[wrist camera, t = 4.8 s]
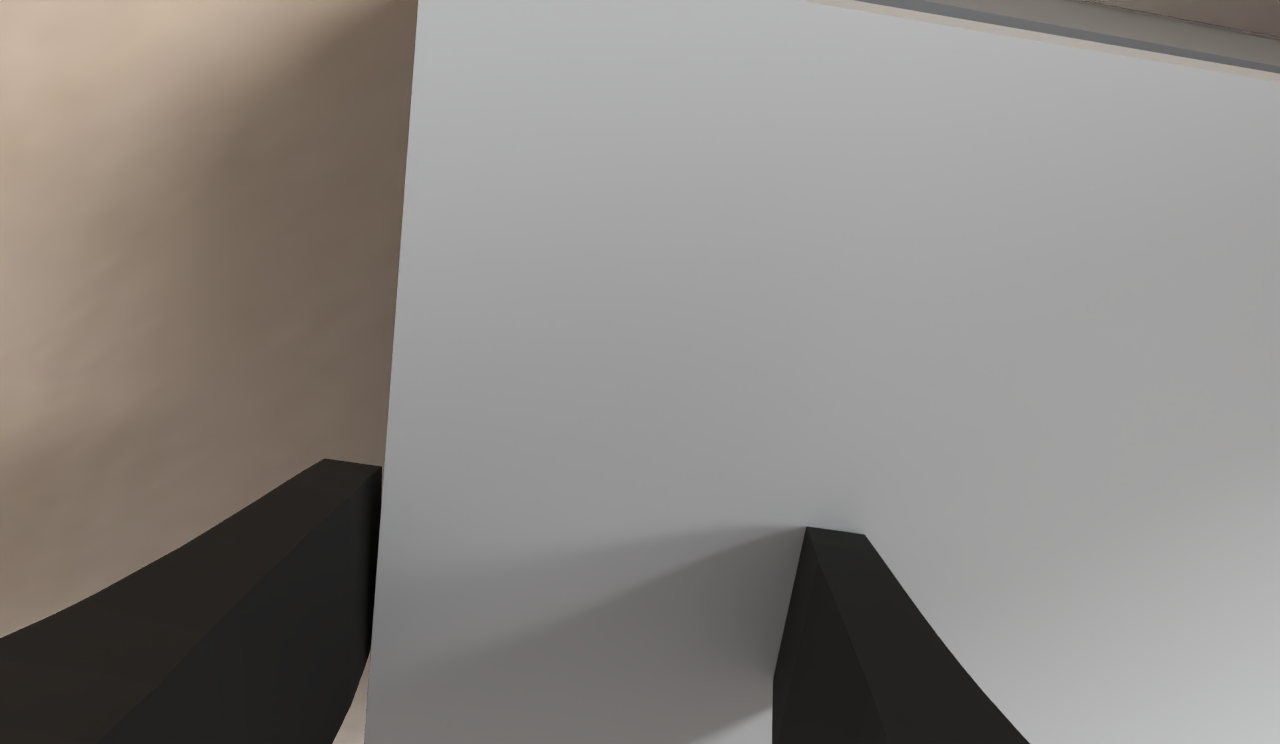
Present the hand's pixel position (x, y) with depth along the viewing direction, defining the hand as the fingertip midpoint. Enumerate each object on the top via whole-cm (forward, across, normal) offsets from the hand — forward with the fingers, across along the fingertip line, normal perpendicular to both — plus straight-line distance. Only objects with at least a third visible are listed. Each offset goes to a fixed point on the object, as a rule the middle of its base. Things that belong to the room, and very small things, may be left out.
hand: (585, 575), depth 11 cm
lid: (+1, -5, 0) cm, 5 cm away
